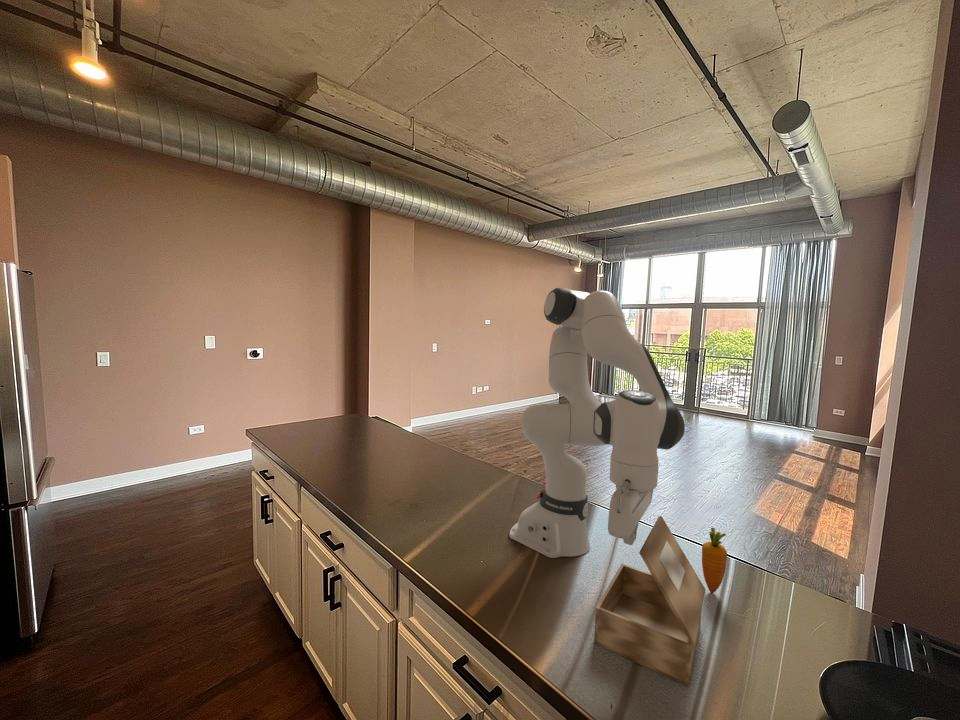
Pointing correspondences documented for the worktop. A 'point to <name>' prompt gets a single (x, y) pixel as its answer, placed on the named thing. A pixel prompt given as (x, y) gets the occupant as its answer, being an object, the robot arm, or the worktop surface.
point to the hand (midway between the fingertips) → (629, 541)
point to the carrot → (714, 561)
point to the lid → (674, 577)
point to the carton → (643, 626)
